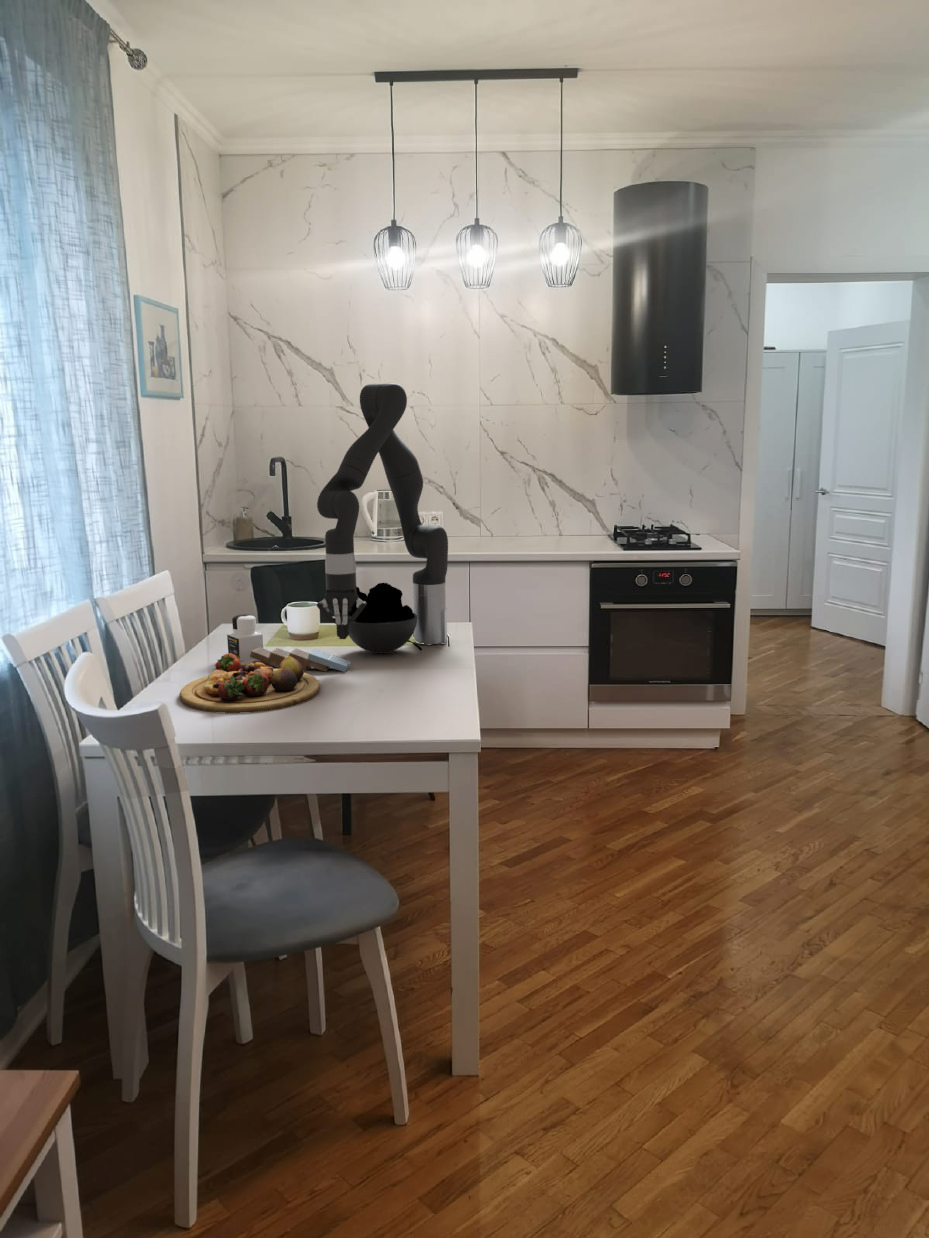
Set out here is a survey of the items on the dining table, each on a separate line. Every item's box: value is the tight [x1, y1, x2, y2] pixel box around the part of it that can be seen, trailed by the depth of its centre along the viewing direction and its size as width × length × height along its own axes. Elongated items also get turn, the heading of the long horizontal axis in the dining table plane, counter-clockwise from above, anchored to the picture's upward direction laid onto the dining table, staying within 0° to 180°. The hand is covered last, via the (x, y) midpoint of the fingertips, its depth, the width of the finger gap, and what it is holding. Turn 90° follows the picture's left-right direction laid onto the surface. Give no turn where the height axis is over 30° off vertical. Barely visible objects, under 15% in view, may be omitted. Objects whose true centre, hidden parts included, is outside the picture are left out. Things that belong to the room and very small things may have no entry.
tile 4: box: [250, 647, 281, 669], centre depth 247 cm, size 2×5×10 cm
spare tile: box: [308, 648, 352, 673], centre depth 245 cm, size 2×5×10 cm
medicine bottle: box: [226, 614, 264, 661], centre depth 256 cm, size 7×7×12 cm
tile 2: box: [289, 648, 330, 673], centre depth 245 cm, size 2×5×10 cm
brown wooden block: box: [239, 660, 276, 669], centre depth 247 cm, size 2×5×10 cm
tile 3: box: [269, 647, 311, 672], centre depth 246 cm, size 2×5×10 cm
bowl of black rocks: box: [348, 582, 417, 654], centre depth 261 cm, size 20×20×19 cm
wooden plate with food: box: [179, 653, 321, 714], centre depth 223 cm, size 32×32×8 cm
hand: (343, 638), depth 244 cm, fingers closed
